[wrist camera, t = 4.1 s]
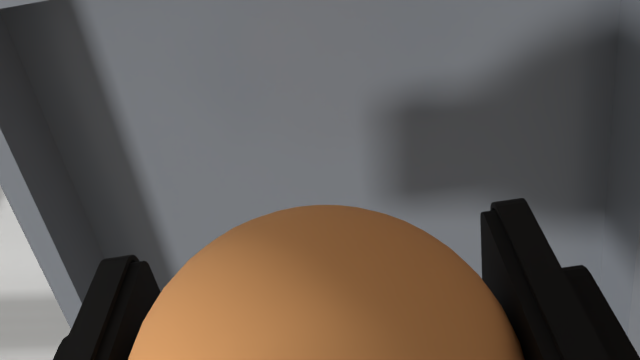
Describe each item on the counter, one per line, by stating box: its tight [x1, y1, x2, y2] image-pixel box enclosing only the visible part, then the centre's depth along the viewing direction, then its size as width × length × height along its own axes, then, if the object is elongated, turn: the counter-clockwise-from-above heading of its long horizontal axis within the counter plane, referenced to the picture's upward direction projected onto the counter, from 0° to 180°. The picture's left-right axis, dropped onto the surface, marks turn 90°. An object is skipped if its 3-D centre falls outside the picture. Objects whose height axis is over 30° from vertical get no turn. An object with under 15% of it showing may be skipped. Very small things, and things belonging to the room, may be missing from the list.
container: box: [0, 0, 640, 357], centre depth 16 cm, size 15×15×2 cm
